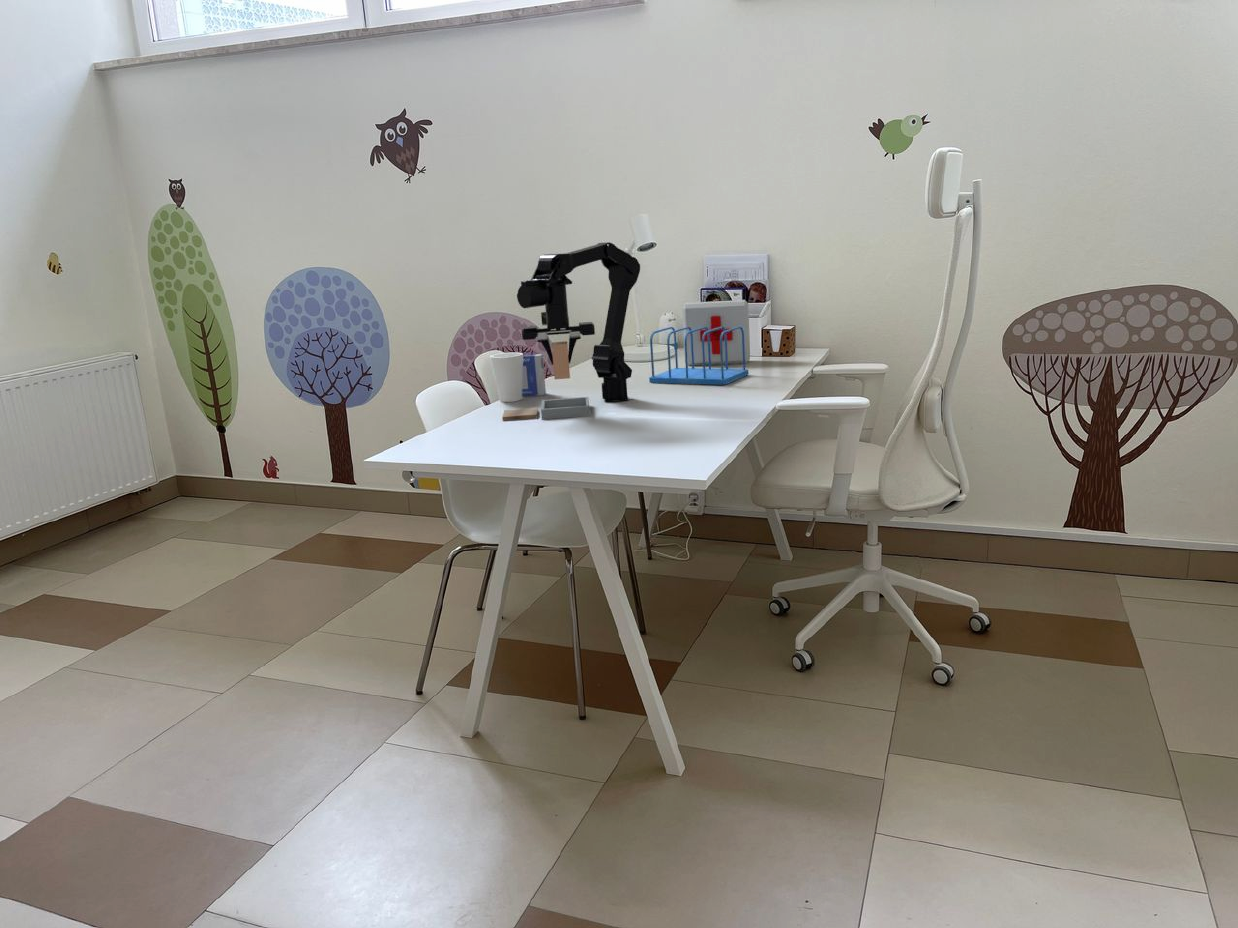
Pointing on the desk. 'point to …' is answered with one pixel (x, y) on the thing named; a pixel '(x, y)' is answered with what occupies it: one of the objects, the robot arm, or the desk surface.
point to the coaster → (520, 414)
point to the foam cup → (508, 375)
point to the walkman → (533, 375)
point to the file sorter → (703, 373)
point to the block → (560, 360)
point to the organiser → (565, 408)
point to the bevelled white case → (714, 317)
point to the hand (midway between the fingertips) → (561, 363)
